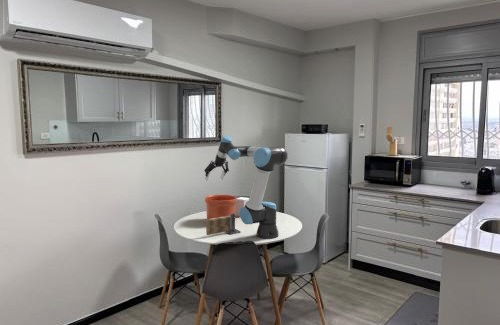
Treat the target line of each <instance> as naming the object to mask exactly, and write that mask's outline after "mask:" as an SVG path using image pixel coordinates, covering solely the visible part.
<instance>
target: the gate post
mask: <svg viewBox="0 0 500 325" xmlns="http://www.w3.org/2000/svg"><path fill="white" fill-rule="evenodd" d="M230 216H231V218H230V231H227V232H225V233H227V234H228V235H236V234H240V233H241V230H239V229H237V228H236V216H235V213H230Z"/></svg>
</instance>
